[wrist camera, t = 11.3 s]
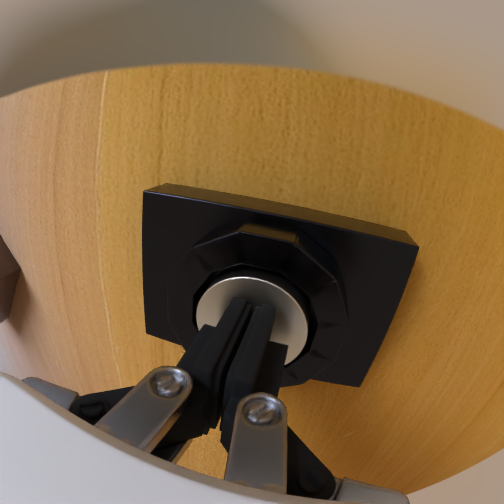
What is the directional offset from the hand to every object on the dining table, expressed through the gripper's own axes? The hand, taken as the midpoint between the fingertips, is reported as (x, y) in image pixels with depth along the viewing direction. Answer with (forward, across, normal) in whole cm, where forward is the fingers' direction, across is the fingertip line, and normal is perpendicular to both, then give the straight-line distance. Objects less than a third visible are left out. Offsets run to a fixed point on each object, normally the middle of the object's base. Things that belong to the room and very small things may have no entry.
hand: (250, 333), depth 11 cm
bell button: (+2, 0, 0) cm, 2 cm away
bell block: (+4, 0, 0) cm, 4 cm away
